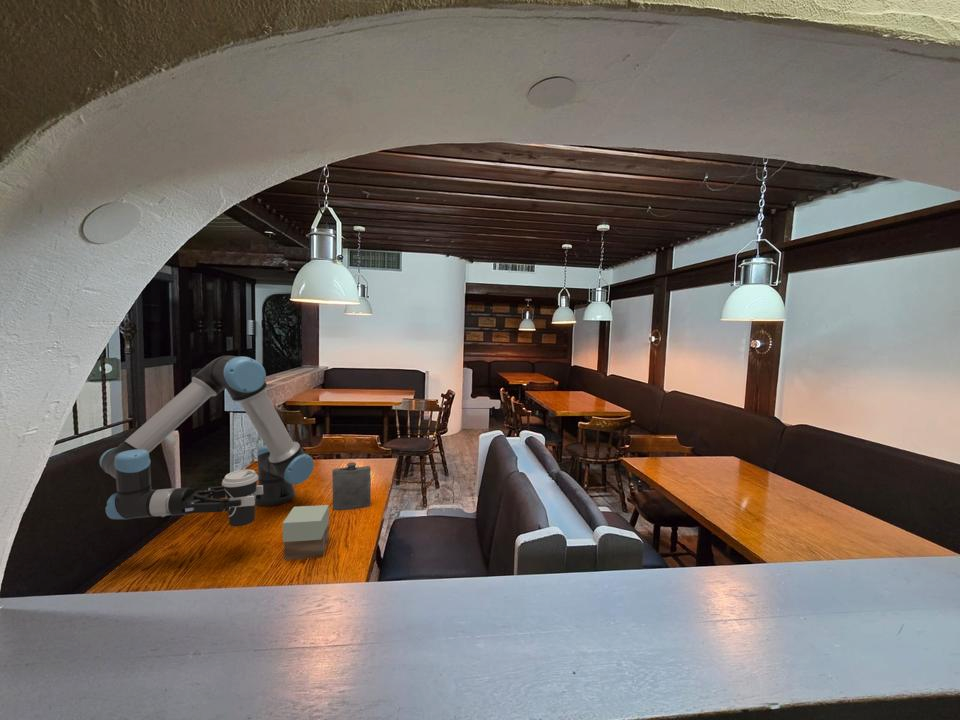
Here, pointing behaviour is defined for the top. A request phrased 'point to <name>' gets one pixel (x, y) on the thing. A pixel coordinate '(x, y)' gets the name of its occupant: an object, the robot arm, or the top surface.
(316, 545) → the tower base
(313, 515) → the tower top
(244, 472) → the coffee cup
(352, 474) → the flask
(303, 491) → the top surface
